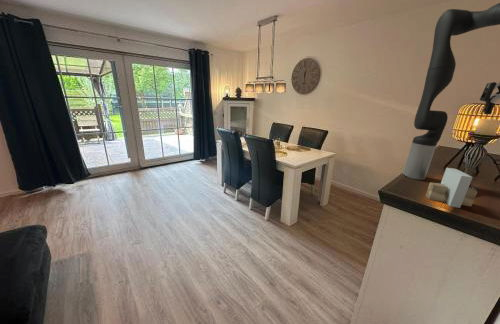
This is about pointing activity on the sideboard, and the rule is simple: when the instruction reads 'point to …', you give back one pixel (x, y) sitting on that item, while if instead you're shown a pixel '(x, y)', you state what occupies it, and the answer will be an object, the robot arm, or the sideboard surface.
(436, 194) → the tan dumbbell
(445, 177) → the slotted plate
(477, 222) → the sideboard surface
